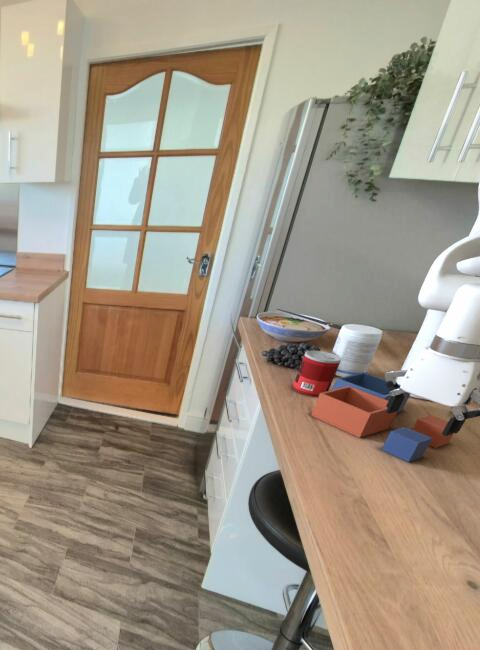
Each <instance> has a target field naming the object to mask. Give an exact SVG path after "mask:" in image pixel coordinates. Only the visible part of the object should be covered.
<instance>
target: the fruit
mask: <svg viewBox="0 0 480 650" xmlns="http://www.w3.org/2000/svg"><path fill="white" fill-rule="evenodd" d="M307 351H321V348H320V347H318V346H315V345H314V344H313V343H306V342H301V343H300V344H298V343H296V344H293V342H292V343H291V342H286V344H280V345H279V347H276V348H274V347H271V348H270V349H269V350H262V352H261V355H262V357H266V358H265V360H266V362H268V363H273V364H277V363H278V366H280V367H282V366H286V367H290V368H294V369H295V370H297V371H299V368H300V365H301V363H302V360H303V357H304V355H305V353H306V352H307Z"/></svg>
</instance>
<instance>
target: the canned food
mask: <svg viewBox="0 0 480 650" xmlns="http://www.w3.org/2000/svg"><path fill="white" fill-rule="evenodd" d="M340 361H341V358H340V357H338V356H336V355H334V354H332V352H327V351H322V350H320V351H307V352H306V353H305V355H304V357H303V360H302V363H301V365H300V368H299V370H297V374H296V376H295V379H294V382H293V389H294V390H295V392H296V391H297V392H298V393H300V394H301V395H302V394H303V395H306V396H310V397H317V398H318V397H319V394H320V393H323V392H327V391H330V388H331V385H332V384H333V381H334V378H335V376H336V375H335V374H336V371H337V369H338V366H339V364H340Z"/></svg>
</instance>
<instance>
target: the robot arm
mask: <svg viewBox="0 0 480 650" xmlns="http://www.w3.org/2000/svg"><path fill="white" fill-rule="evenodd" d="M477 197H478V198H477V199H478V213H477V217H476V220H475V221H474V224H473V226H472V228H471V230H470V233H469V234H468V236H466V237H464V238H462V239H460V240H457V241H456V242H455V243H453V244H452V245H451V246H448V247H447V248H446V249H445V250H443V251H442V252H441V253H440V254H438V256H437V257H436V259H434V261H433V262H432V265H431V266H430V268H429V270H428V272H427V274H426V276H425V278H424V281H423V283H422V284H421V287H420V290H419V291H418V296H417V302H418V304H419V306H421V307H422V308H424V309H427V310H426V314H425V317H424V320H423V321H422V324H421V327H420V329H419V330H418V333H417V335H416V337H415V339H414V341H413V343H412V346H411V348H410V350H409V352H408V354H407V356H406V358H405V360H404V362H403V364H402V365H401V366H402V367H401V368H400V370H393V371H392V370H390V371H386V372H385V373H384V379H385V380H386V386H387V388H388V389H389V391H390V393H389V394H390V395H391V397H390V399H389V401H388V403H387V405H386V407H387V410H386V413H394V412H397V411H398V410H399V408H400V406H401V404H402V402H403V400H404V398H405V397H404V395H403V393H406V392H408V393H410V396H409V398H410V397H411V398H414V399H419V400H425V401H430V402H433V403H436V404H438V405H441V406H445V407H449V408H450V410H451V411H452V413H453V415H454V416H452V417H450V418H449V420H447V421H448V423H447V425H446V427H445V428H444V430H443V432H442V434H443V435H445V436H448V435H451V434H453V433H454V434H458V433H459V432H460V430H461V429H462V428H463V425H464V424H465V422H466V420H469V419H474V418H478V417H480V407H478V408H477V409H474V410H470V408H469V407H468V405H471V404H472V403H473V402H475V403H476V404H477V405H479V406H480V181H479V182H478V187H477ZM455 264H456V266H455V267H456V270H457V271H458V272H460V273H462V274H456V273H448V271H449V270H450V268H451V267H452V266H454V265H455ZM398 384H399V385H400V387H401V388H400V387H399V385H398ZM397 413H398V412H397ZM454 434H453V435H454Z"/></svg>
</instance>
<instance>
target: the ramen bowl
mask: <svg viewBox="0 0 480 650" xmlns="http://www.w3.org/2000/svg"><path fill="white" fill-rule="evenodd" d="M276 310H277V311H264V312H259V313H257V314H256V320H257V322H258V325H259V327H260V328H261V330H262V331H264V333H265V334H267V335H268V336H271V337H272V338H274V339H276V340H278V341H280V342H284V343H292V344H293V343H298V342H308V341H312V340H316V339H318V338H319V337H321V336H323V335H325V334H326V333H327V332H328V331H329V330H331V328H333V329H337V330H341V328H342V326H343V325H338V324H335V323H331V322H328V321H326V320H323V319H321V318H318V317H315V316H311V315H307V314H301V313H295V312H291V311H287V310H284V309H281V308H276Z"/></svg>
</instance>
